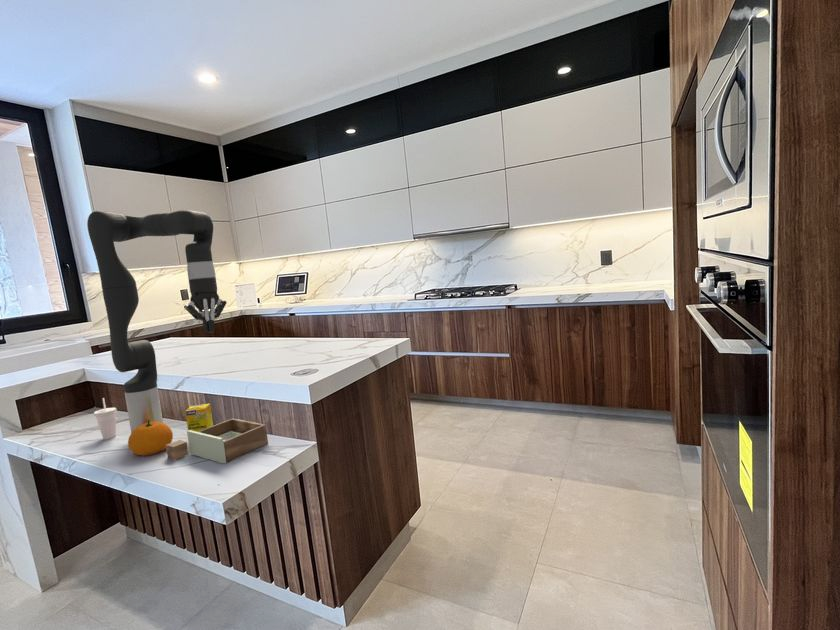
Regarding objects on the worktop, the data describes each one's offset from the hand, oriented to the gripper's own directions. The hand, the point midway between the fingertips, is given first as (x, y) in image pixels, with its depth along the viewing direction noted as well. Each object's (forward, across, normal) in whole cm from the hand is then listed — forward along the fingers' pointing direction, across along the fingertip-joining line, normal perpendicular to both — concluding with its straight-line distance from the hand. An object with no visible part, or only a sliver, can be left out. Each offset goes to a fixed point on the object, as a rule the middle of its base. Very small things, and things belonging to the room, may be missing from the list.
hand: (209, 332), depth 132 cm
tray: (+35, +4, +9) cm, 36 cm away
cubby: (+35, +4, +9) cm, 36 cm away
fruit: (+35, +15, -15) cm, 41 cm away
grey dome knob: (+34, +6, +9) cm, 35 cm away
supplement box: (+35, +3, -8) cm, 36 cm away
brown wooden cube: (+35, +14, -2) cm, 38 cm away
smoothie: (+35, +15, -45) cm, 59 cm away
